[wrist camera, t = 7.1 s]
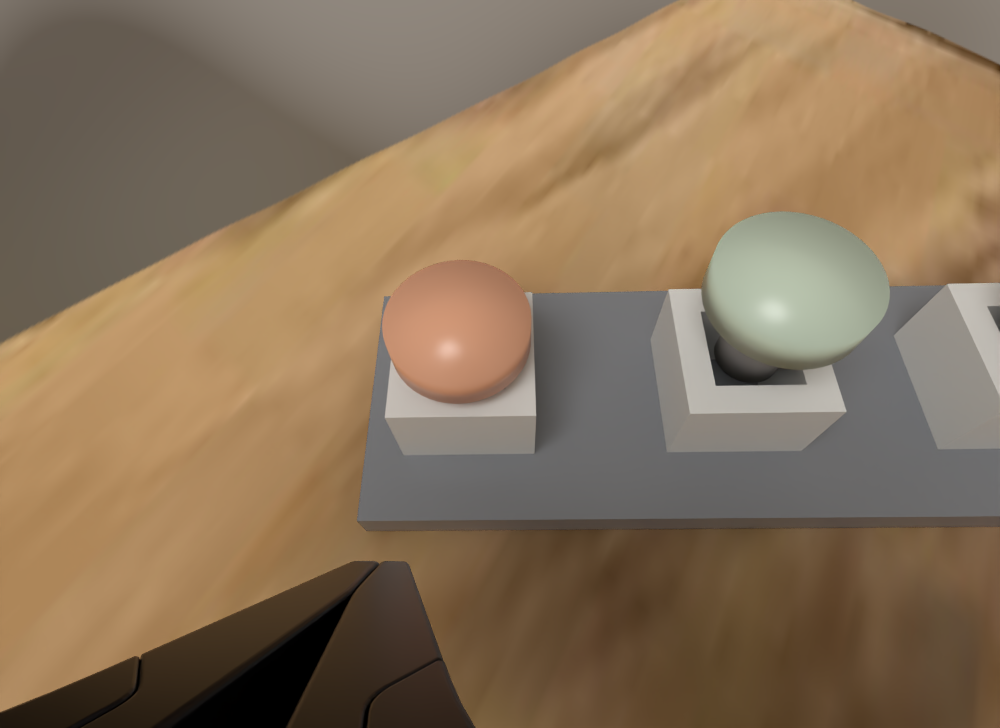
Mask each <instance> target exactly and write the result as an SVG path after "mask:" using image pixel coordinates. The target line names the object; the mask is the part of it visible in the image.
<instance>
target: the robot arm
mask: <svg viewBox="0 0 1000 728" xmlns="http://www.w3.org/2000/svg"><path fill="white" fill-rule="evenodd" d="M0 728H475V726H474V724H473V723H472V721H471V719H470V717H469V716H468V714H467V712H466V710H465V709H464V707H463V705H462V703H461V701H460V699H459V697H458V694H457V692H456V690H455V687H454V685H453V683H452V681H451V678H450V675H449V673H448V670H447V667H446V665H445V663H444V661H443V658H442V655H441V653H440V650H439V647H438V644H437V642H436V639H435V636H434V633H433V630H432V628H431V625H430V622H429V619H428V616H427V614H426V611H425V608H424V605H423V603H422V600H421V597H420V594H419V591H418V589H417V586H416V583H415V580H414V577H413V575H412V572H411V569H410V566H409V564H408V563H407V562H395V561H384V562H382V563H380V564H379V563H378V562H375V561H354V562H350V563H348V564H346V565H343V566H341V567H339V568H337V569H334V570H332V571H330V572H327V573H325V574H323V575H321V576H318V577H316V578H314V579H312V580H309V581H307V582H305V583H302V584H300V585H298V586H296V587H293V588H291V589H289V590H287V591H284V592H282V593H280V594H277V595H275V596H273V597H271V598H268V599H266V600H264V601H262V602H259V603H257V604H255V605H253V606H250V607H248V608H246V609H243V610H241V611H239V612H237V613H234V614H232V615H230V616H228V617H225V618H223V619H221V620H218V621H216V622H214V623H212V624H209V625H207V626H205V627H203V628H200V629H198V630H196V631H194V632H191V633H189V634H187V635H184V636H182V637H180V638H178V639H175V640H173V641H171V642H169V643H166V644H164V645H162V646H159V647H157V648H155V649H153V650H150V651H148V652H146V653H144V654H142V655H141V658H139V657H137V656H134V657H132V658H129V659H127V660H125V661H123V662H120V663H118V664H116V665H113V666H111V667H109V668H107V669H104V670H102V671H100V672H97V673H95V674H92V675H90V676H88V677H85V678H83V679H81V680H78V681H76V682H74V683H71V684H69V685H66V686H64V687H62V688H59V689H57V690H55V691H52V692H50V693H47V694H45V695H42V696H40V697H37V698H35V699H32V700H30V701H27V702H25V703H22V704H20V705H17V706H15V707H12V708H10V709H7V710H5V711H2V712H0Z"/></svg>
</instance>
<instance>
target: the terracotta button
mask: <svg viewBox="0 0 1000 728" xmlns="http://www.w3.org/2000/svg"><path fill="white" fill-rule="evenodd" d="M382 332H383V338H384V342H385V345H386V347H387V350H388V353H389V355H390V358H391V360H392V363H393V365H394V367H395V369H396V371H397V373H398V375H399V376H400V378H401V379H402V380H403V381H404V382H405V383H406V385H407V386H409V387H410V388H411V389H412V390H413V391H415V392H417V393H418V394H420V395H422V396H424V397H426V398H428V399H431V400H434V401H438V402H443V403H451V404H462V403H471V402H476V401H480V400H483V399H486V398H488V397H490V396H493V395H495V394H497V393H498V392H500V391H501V390H503V389H504V388H506V387H507V386H508V385H509V384H511V383H512V382H513V381H514V380H515V379H516V377H517V376H518V375H519V374H520V372H521V371H522V369H523V367H524V366H525V364H526V362H527V359H528V356H529V352H530V347H531V309H530V305H529V302H528V299H527V297H526V295H525V293H524V291H523V290H522V288H521V287H520V286H519V285H518V283H517V282H516V281H515V280H514V279H513V278H511V277H510V276H509V275H508V274H506V273H505V272H503V271H502V270H500V269H498V268H496V267H494V266H491V265H488V264H485V263H481V262H477V261H469V260H454V261H446V262H441V263H437V264H434V265H431V266H428V267H426V268H423V269H422V270H420V271H418V272H416V273H414V274H413V275H411V276H410V277H408V278H407V279H406V280H405V281H404V282H403V283H401V285H400V286H399V287H398V288H397V289H396V290H395V291H394V293H393V294H392V296H391V297H390V299H389V301H388V303H387V305H386V308H385V311H384V315H383V320H382Z"/></svg>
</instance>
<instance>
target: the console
mask: <svg viewBox="0 0 1000 728" xmlns="http://www.w3.org/2000/svg"><path fill="white" fill-rule="evenodd" d="M889 288H890V300H889V304H888V308H887V311H886V313H885V315H884V317H883V318H882V320H881V321H880V323H879V324H878V325H877V326H876V327H875V328H874V329H873V330H872V331H871V332H870V333H869V334H868V335H867V336H866V337H865V338H864V339H863V340H862V341H861V342H860V344H859V345H858V346H857V347H856V348H855V349H854V350H853V351H852V352H851V353H850V354H849V355H847V356H846V357H844V358H843V359H842V360H840V361H838V362H836V363H834V364H831V365H828V366H825V367H821V368H816V369H808V370H792V369H784V368H778V369H777V370H776V372H775V373H774V374H773V375H772V376H771V377H770V378H768V379H767V380H765V381H762V382H758V383H746V382H742V381H738V380H736V379H734V378H732V377H730V376H729V375H727V374H726V373H725V372H724V371H723V370H722V369H721V368H720V367H719V365H718V364H717V362H716V359H715V355H714V347H715V344H716V342H717V340H718V338H719V336H720V334H719V333H718V332H717V331H716V330H715V328H714V327H713V325H712V324H711V322H710V321H709V319H708V317H707V314H706V312H705V310H704V306H703V303H702V295H701V291H702V289H668V291H640V292H590V293H539V294H532V292H524V293H525V295H526V297H527V299H528V302H529V305H530V309H531V347H530V352H529V356H528V359H527V362H526V364H525V366H524V367H523V369H522V371H521V372H520V374H519V375H518V376H517V377H516V379H515V380H514V381H513V382H512V383H511V384H509V385H508V386H507V387H506V388H504V389H503V390H501V391H500V392H498V393H497V394H495V395H493V396H490V397H488V398H486V399H483V400H480V401H476V402H471V403H462V404H451V403H443V402H438V401H434V400H431V399H428V398H426V397H424V396H422V395H420V394H418V393H417V392H415V391H413V390H412V389H411V388H410V387H409V386H407V385H406V383H405V382H404V381H403V380H402V379H401V378H400V376H399V375H398V373H397V371H396V369H395V367H394V365H393V363H392V360H391V358H390V355H389V353H388V350H387V347H386V345H385V342H384V338H383V332H382V320H383V315H384V311H385V308H386V305H387V303H388V301H389V299H390V297H391V296H388V297H384V304H383V312H382V320H381V328H380V336H379V345H378V353H377V361H376V369H375V377H374V385H373V394H372V402H371V410H370V418H369V426H368V435H367V443H366V451H365V459H364V467H363V476H362V484H361V492H360V500H359V508H358V517H357V522H358V523H359V524H360V525H361V526H362V527H363V528H364V529H365V530H366V531H433V530H579V529H726V528H872V527H1000V283H970V284H947V285H943V286H893V287H889Z"/></svg>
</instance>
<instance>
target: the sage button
mask: <svg viewBox="0 0 1000 728" xmlns="http://www.w3.org/2000/svg"><path fill="white" fill-rule="evenodd" d="M701 295H702V303H703V306H704V310H705V312H706V314H707V317H708V319H709V321H710V322H711V324H712V325H713V327H714V328H715V330H716V331H717V332H718V333H719V334H720V336H719V338H718V340H717V342H716V344H715V347H714V355H715V359H716V362H717V364H718V365H719V367H720V368H721V369H722V370H723V371H724V372H725V373H726V374H727V375H729V376H730V377H732V378H734V379H736V380H738V381H742V382H746V383H758V382H762V381H765V380H767V379H768V378H770V377H771V376H772V375H773V374H774V373H775V372H776V370H777V369H778V368H784V369H792V370H808V369H816V368H821V367H825V366H828V365H831V364H834V363H836V362H838V361H840V360H842V359H843V358H844V357H846V356H847V355H849V354H850V353H851V352H852V351H853V350H854V349H855V348H856V347H857V346H858V345H859V344H860V342H861V341H862V340H863V339H864V338H865V337H866V336H867V335H868V334H869V333H870V332H871V331H872V330H873V329H874V328H875V327H876V326H877V325H878V324H879V323H880V321H881V320H882V318H883V317H884V315H885V313H886V311H887V308H888V304H889V300H890V288H889V281H888V278H887V275H886V272H885V270H884V268H883V266H882V264H881V262H880V261H879V259H878V258H877V256H876V255H875V254H874V253H873V251H872V250H871V249H870V248H869V247H868V246H867V245H866V244H865V243H864V242H863V241H862V240H860V239H859V238H858V237H856V236H855V235H854V234H853V233H851V232H849V231H848V230H846V229H844V228H843V227H841V226H839V225H837V224H835V223H833V222H830V221H828V220H825V219H823V218H819V217H816V216H813V215H808V214H803V213H796V212H769V213H763V214H759V215H755V216H752V217H749V218H747V219H744V220H742V221H741V222H739V223H737V224H736V225H734V226H733V227H732V228H730V229H729V230H728V231H727V232H726V233H725V234H724V236H723V237H722V238H721V240H720V241H719V243H718V245H717V247H716V250H715V252H714V254H713V257H712V259H711V261H710V264H709V266H708V268H707V271H706V273H705V275H704V278H703V282H702V291H701Z"/></svg>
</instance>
